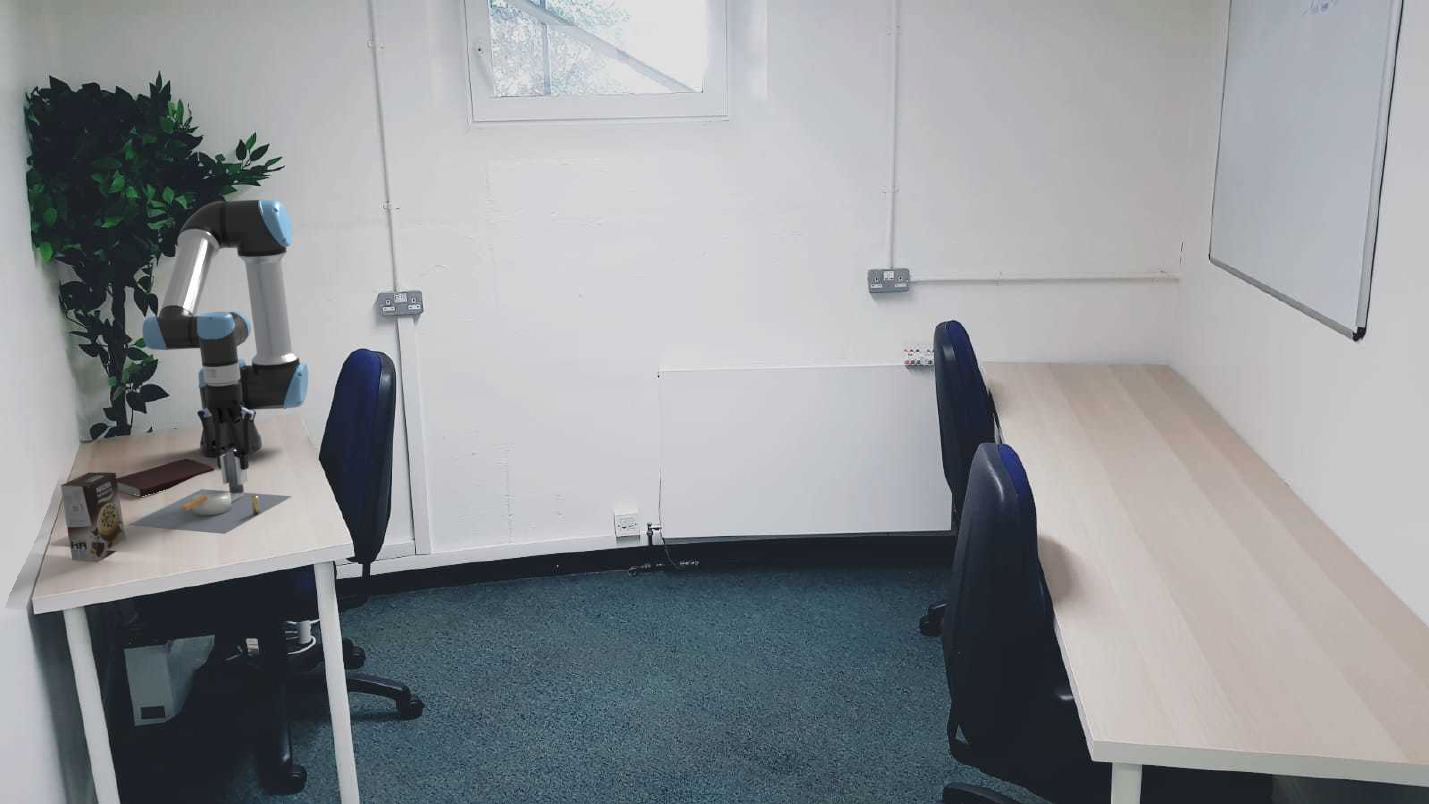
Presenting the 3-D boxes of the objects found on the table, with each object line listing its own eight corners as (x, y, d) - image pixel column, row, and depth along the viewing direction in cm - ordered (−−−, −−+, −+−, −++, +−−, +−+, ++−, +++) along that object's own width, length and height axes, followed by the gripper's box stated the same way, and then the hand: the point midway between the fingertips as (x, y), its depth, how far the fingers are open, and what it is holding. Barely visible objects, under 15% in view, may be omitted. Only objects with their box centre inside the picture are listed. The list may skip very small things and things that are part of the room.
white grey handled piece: (202, 524, 257) (195, 475, 255) (170, 522, 259) (163, 473, 257) (256, 495, 276) (251, 449, 273) (226, 492, 278) (220, 447, 275)
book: (216, 478, 295) (214, 465, 295) (141, 500, 280) (139, 487, 279) (186, 470, 302) (184, 457, 302) (112, 491, 287) (110, 478, 286)
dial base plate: (202, 495, 282) (199, 472, 280) (292, 502, 275) (290, 479, 274) (129, 531, 259) (125, 507, 258) (225, 540, 253) (222, 515, 252)
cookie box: (99, 562, 242) (87, 486, 238) (71, 560, 243) (58, 485, 239) (128, 545, 251) (117, 471, 247) (100, 544, 252) (88, 470, 248)
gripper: (180, 385, 267) (193, 485, 272) (245, 387, 263) (258, 489, 269) (200, 377, 274) (213, 475, 280) (264, 379, 270) (276, 478, 276)
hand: (235, 482), depth 274 cm, fingers closed on white grey handled piece, 3 cm apart
